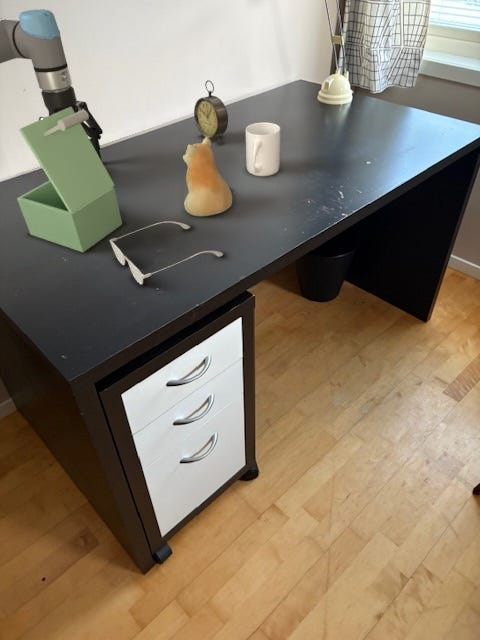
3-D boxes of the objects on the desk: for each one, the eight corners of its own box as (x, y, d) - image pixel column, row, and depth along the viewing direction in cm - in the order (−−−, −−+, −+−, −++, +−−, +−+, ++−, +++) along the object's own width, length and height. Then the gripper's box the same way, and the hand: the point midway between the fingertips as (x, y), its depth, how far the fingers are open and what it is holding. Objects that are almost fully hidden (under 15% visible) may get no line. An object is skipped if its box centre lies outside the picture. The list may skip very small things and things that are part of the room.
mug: (237, 180, 120) (236, 138, 113) (252, 161, 129) (251, 120, 122) (270, 184, 118) (270, 142, 111) (283, 164, 126) (284, 123, 119)
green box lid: (18, 129, 85) (41, 116, 80) (69, 107, 93) (93, 94, 88) (69, 213, 93) (94, 205, 88) (112, 186, 101) (137, 177, 96)
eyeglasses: (111, 254, 98) (107, 238, 95) (187, 225, 105) (185, 209, 102) (145, 292, 88) (141, 274, 85) (226, 257, 95) (225, 240, 93)
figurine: (178, 197, 115) (170, 135, 105) (228, 188, 117) (225, 127, 107) (190, 222, 106) (182, 157, 96) (243, 212, 109) (241, 147, 99)
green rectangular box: (30, 234, 105) (16, 198, 99) (71, 209, 113) (60, 173, 107) (83, 252, 99) (71, 214, 93) (122, 224, 107) (114, 187, 101)
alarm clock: (195, 137, 143) (189, 78, 132) (209, 132, 146) (204, 74, 135) (218, 146, 137) (214, 86, 126) (232, 141, 139) (230, 82, 129)
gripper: (26, 106, 103) (56, 196, 117) (104, 75, 119) (121, 157, 133) (3, 102, 106) (34, 190, 120) (82, 72, 122) (101, 153, 136)
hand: (80, 173), depth 127 cm, fingers open, 13 cm apart
